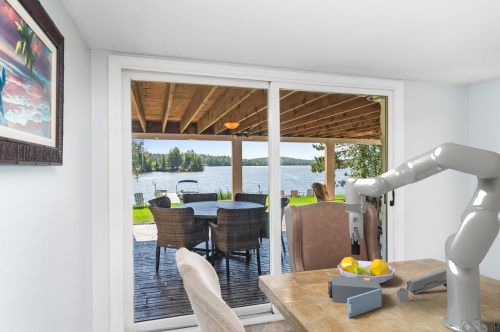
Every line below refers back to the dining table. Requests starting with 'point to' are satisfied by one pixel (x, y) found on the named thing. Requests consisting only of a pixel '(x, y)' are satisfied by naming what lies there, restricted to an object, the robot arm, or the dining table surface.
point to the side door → (364, 302)
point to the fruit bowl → (366, 269)
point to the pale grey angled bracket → (404, 292)
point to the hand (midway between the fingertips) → (355, 251)
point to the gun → (429, 281)
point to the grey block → (350, 287)
